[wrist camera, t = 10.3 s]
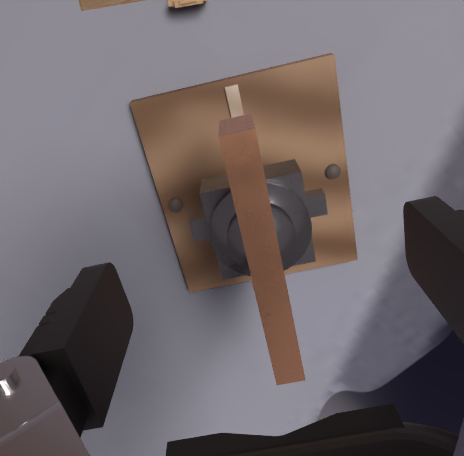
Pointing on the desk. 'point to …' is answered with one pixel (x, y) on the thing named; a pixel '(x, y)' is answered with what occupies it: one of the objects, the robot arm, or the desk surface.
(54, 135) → the desk surface
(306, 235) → the lever handle
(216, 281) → the post base
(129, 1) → the model pyramid
